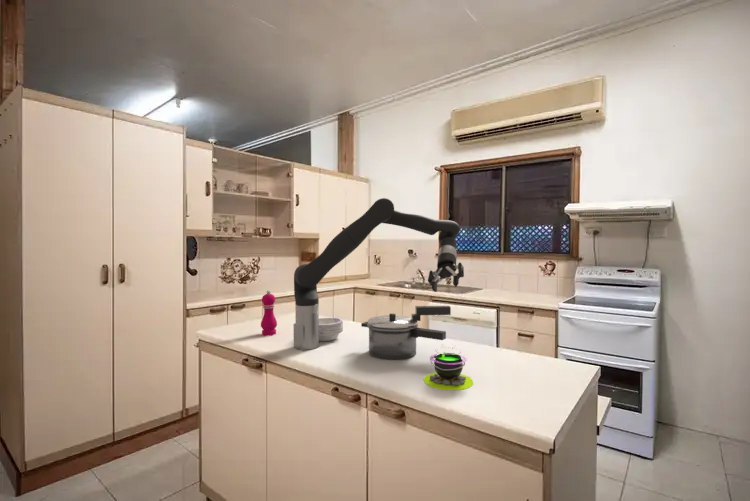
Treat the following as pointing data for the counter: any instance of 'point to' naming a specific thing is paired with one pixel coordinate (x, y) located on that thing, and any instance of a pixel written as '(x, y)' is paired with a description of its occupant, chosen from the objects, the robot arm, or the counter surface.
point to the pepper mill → (268, 315)
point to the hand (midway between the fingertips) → (444, 288)
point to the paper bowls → (329, 328)
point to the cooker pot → (398, 341)
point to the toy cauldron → (448, 372)
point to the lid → (404, 321)
